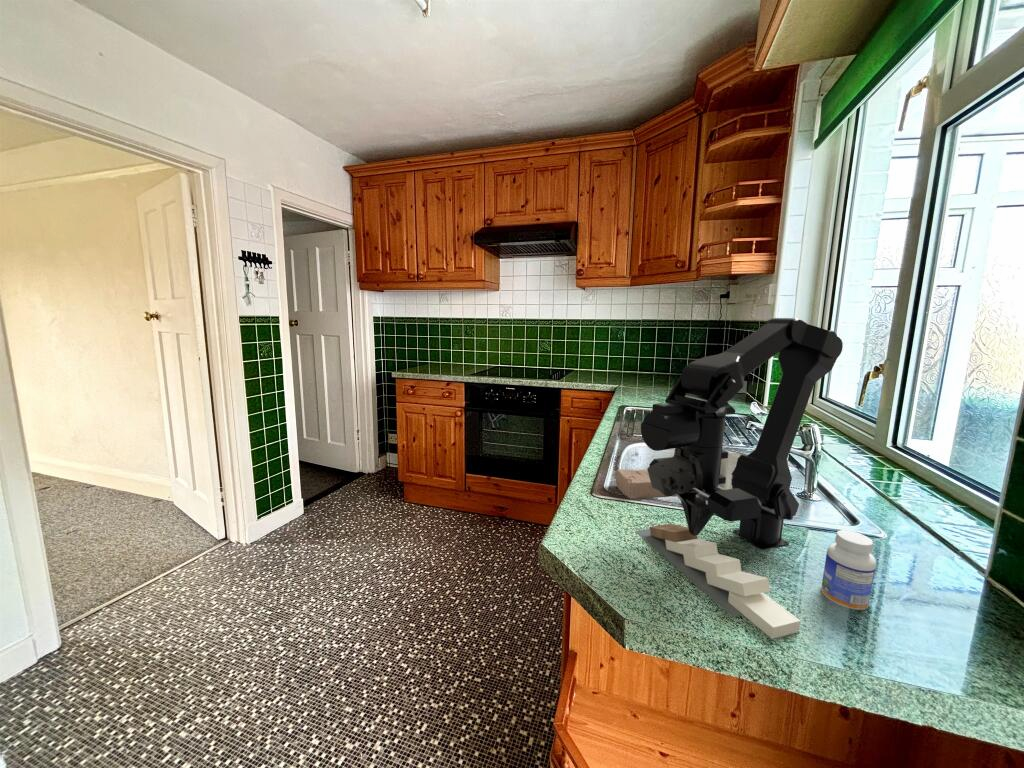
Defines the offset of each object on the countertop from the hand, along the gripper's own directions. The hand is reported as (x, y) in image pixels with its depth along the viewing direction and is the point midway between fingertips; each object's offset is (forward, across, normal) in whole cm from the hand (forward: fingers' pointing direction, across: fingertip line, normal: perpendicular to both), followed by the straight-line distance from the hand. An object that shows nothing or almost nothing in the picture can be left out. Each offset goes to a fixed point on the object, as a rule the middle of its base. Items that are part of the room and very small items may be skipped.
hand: (694, 534), depth 67 cm
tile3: (+4, +1, 0) cm, 4 cm away
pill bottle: (+5, +14, +15) cm, 21 cm away
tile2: (+4, -4, 0) cm, 5 cm away
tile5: (+4, +10, 0) cm, 11 cm away
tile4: (+4, +6, 0) cm, 7 cm away
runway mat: (+5, +1, 0) cm, 5 cm away
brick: (+5, -26, +11) cm, 29 cm away
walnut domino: (+4, -8, 0) cm, 9 cm away
